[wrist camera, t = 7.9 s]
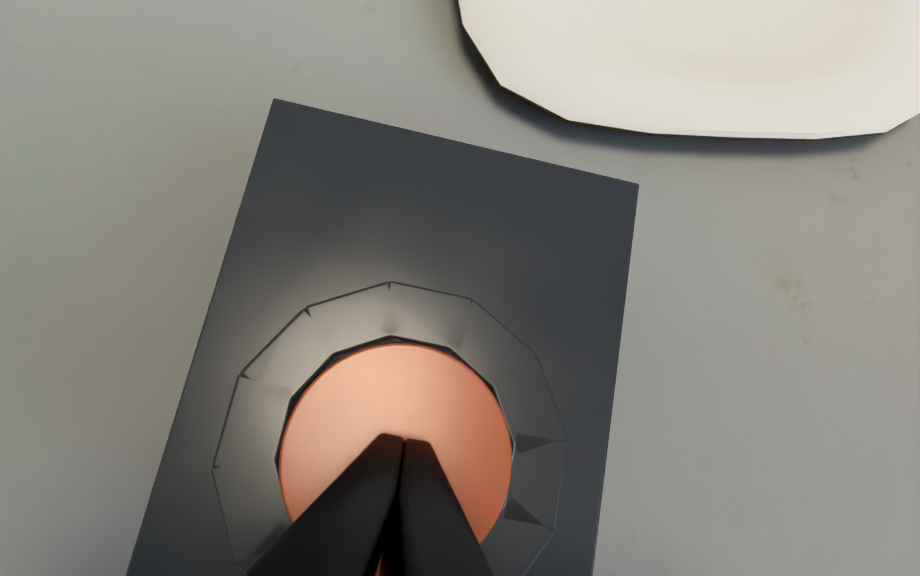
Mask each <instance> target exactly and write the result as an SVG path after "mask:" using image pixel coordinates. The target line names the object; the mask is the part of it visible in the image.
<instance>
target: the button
mask: <svg viewBox="0 0 920 576" xmlns="http://www.w3.org/2000/svg"><path fill="white" fill-rule="evenodd" d="M380 433H387V434H392V435H398V436H402V437H403V438H404V442H405V440H406V439H407V438H413V439H418V440H423V441H428V442H430V443H431V445H432V447H433V449H434V451H435V453H436V455H437V457H438V459H439V461H440V463H441V466H442V468H443V470H444V472H445V474H446V476H447V478H448V480H449V482H450V484H451V486H452V488H453V491H454V493H455V495H456V497H457V499H458V501H459V503H460V505H461V507H462V509H463V511H464V513H465V515H466V518H467V520H468V522H469V524H470V526H471V528H472V530H473V532H474V534H475V536H476V538H477V540H478V542H479V545H480V543H481V542H482V541H483V540H484V539H485V538H486V536H487V535H488V533H489V532H490V530H491V529H492V527H493V526H494V524H495V522H496V520H497V519H498V517H499V515H500V513H501V511H502V508H503V505H504V502H505V500H506V497H507V493H508V489H509V484H510V480H511V470H512V448H511V441H510V435H509V431H508V427H507V424H506V420H505V417H504V415H503V413H502V410H501V408H500V406H499V404H498V402H497V400H496V399H495V397H494V395H493V394H492V392H491V391H490V389H489V388H488V387H487V385H486V384H485V383H484V382H483V380H482V379H481V378H480V377H479V376H478V375H477V374H476V373H475V372H474V371H473V370H471V369H470V368H469V367H467V366H466V365H465V364H464V363H462V362H461V361H459V360H457V359H456V358H454V357H452V356H450V355H449V354H446V353H444V352H442V351H439V350H437V349H434V348H430V347H426V346H423V345H416V344H409V343H390V344H382V345H376V346H372V347H368V348H364V349H362V350H359V351H357V352H354V353H352V354H350V355H348V356H346V357H344V358H342V359H340V360H339V361H337V362H336V363H334V364H333V365H331V366H330V367H329V368H327V369H326V370H325V371H324V372H322V373H321V374H320V375H319V376H318V377H317V378H316V379H315V380H314V381H313V382H312V383H311V384H310V386H309V387H308V388H307V389H306V391H305V392H304V393H303V394H302V396H301V398H300V399H299V401H298V402H297V404H296V405H295V407H294V409H293V411H292V414H291V416H290V418H289V420H288V423H287V426H286V429H285V432H284V435H283V439H282V444H281V449H280V459H279V477H280V487H281V492H282V497H283V501H284V504H285V507H286V510H287V513H288V516H289V518H290V520H291V522H292V523H293V522H294V521H295V520H296V519H297V518H298V517H299V516H300V515H301V514H302V513H303V512H304V511H305V510H306V509H307V508H308V507H309V506H310V505H311V504H312V503H313V502H314V501H315V500H316V499H317V497H318V496H319V495H320V494H321V493H322V492H323V491H324V490H325V489H326V488H327V487H328V486H329V485H330V484H331V483H332V482H333V481H334V480H335V479H336V478H337V477H338V476H339V475H340V474H341V473H342V472H343V471H344V470H345V469H346V467H347V466H348V465H349V464H350V463H351V462H352V461H353V460H354V459H355V458H356V457H357V456H358V455H359V454H360V453H361V452H362V451H363V450H364V449H365V448H366V447H367V446H368V445H369V444H370V443H371V442H372V441H373V440H374V439H375V438H376V436H378V435H379V434H380ZM380 560H381V558H380ZM379 567H380V562H379V566H378V570H377V574H376V576H379Z"/></svg>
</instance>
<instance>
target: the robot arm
mask: <svg viewBox="0 0 920 576" xmlns="http://www.w3.org/2000/svg"><path fill="white" fill-rule="evenodd" d="M380 558H381V560H380ZM379 562H380V567H379V576H494V574H493V572H492V569H491V567H490V565H489V563H488V561H487V559H486V557H485V555H484V553H483V551H482V549H481V547H480V545H479V542H478V540H477V538H476V536H475V534H474V532H473V530H472V528H471V526H470V524H469V522H468V520H467V518H466V515H465V513H464V511H463V509H462V507H461V505H460V503H459V501H458V499H457V497H456V495H455V493H454V491H453V488H452V486H451V484H450V482H449V480H448V478H447V476H446V474H445V472H444V470H443V468H442V466H441V463H440V461H439V459H438V457H437V455H436V453H435V451H434V449H433V447H432V445H431V443H430V442H428V441H423V440H418V439H413V438H407V439H406V440H405V442H404V438H403V437H402V436H398V435H392V434H387V433H380V434H379V435H378V436H376V438H375V439H374V440H373V441H372V442H371V443H370V444H369V445H368V446H367V447H366V448H365V449H364V450H363V451H362V452H361V453H360V454H359V455H358V456H357V457H356V458H355V459H354V460H353V461H352V462H351V463H350V464H349V465H348V466H347V467H346V469H345V470H344V471H343V472H342V473H341V474H340V475H339V476H338V477H337V478H336V479H335V480H334V481H333V482H332V483H331V484H330V485H329V486H328V487H327V488H326V489H325V490H324V491H323V492H322V493H321V494H320V495H319V496H318V497H317V499H316V500H315V501H314V502H313V503H312V504H311V505H310V506H309V507H308V508H307V509H306V510H305V511H304V512H303V513H302V514H301V515H300V516H299V517H298V518H297V519H296V520H295V521H294V522H293V523H292V524H291V525H290V526H289V527H288V528H287V530H286V531H285V532H284V533H283V534H282V535H281V536H280V537H279V538H278V539H277V540H276V541H275V542H274V543H273V544H272V545H271V546H270V547H269V548H268V549H267V550H266V551H265V552H264V553H263V554H262V555H261V556H260V557H259V558H258V559H257V561H256V562H255V563H254V564H253V565H252V566H251V567H250V568H249V569H248V570H247V571H246V574H245V575H241V576H376V574H377V570H378V566H379Z"/></svg>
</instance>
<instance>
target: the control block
mask: <svg viewBox="0 0 920 576" xmlns="http://www.w3.org/2000/svg"><path fill="white" fill-rule="evenodd" d="M638 189H639V184H637V183H632V182H628V181H624V180H620V179H615V178H611V177H607V176H603V175H598V174H594V173H590V172H585V171H581V170H577V169H573V168H568V167H564V166H560V165H556V164H551V163H547V162H543V161H539V160H534V159H530V158H526V157H522V156H517V155H513V154H509V153H505V152H500V151H496V150H492V149H488V148H483V147H479V146H475V145H471V144H466V143H462V142H458V141H454V140H449V139H445V138H441V137H437V136H432V135H428V134H424V133H420V132H415V131H411V130H407V129H403V128H398V127H394V126H390V125H386V124H381V123H377V122H373V121H368V120H364V119H360V118H356V117H351V116H347V115H343V114H339V113H334V112H330V111H326V110H322V109H317V108H313V107H309V106H305V105H300V104H296V103H292V102H288V101H283V100H279V99H273V102H272V105H271V108H270V111H269V115H268V118H267V121H266V124H265V127H264V131H263V134H262V137H261V140H260V144H259V147H258V150H257V153H256V156H255V160H254V163H253V166H252V169H251V173H250V176H249V179H248V182H247V185H246V189H245V192H244V195H243V198H242V202H241V205H240V208H239V211H238V215H237V218H236V221H235V224H234V227H233V231H232V234H231V237H230V240H229V244H228V247H227V250H226V253H225V256H224V260H223V263H222V266H221V269H220V273H219V276H218V279H217V282H216V286H215V289H214V292H213V295H212V298H211V302H210V305H209V308H208V311H207V315H206V318H205V321H204V324H203V327H202V331H201V334H200V337H199V340H198V344H197V347H196V350H195V353H194V356H193V360H192V363H191V366H190V369H189V373H188V376H187V379H186V382H185V386H184V389H183V392H182V395H181V398H180V402H179V405H178V408H177V411H176V415H175V418H174V421H173V424H172V427H171V431H170V434H169V437H168V440H167V444H166V447H165V450H164V453H163V457H162V460H161V463H160V466H159V469H158V473H157V476H156V479H155V482H154V486H153V489H152V492H151V495H150V498H149V502H148V505H147V508H146V511H145V515H144V518H143V521H142V524H141V528H140V531H139V534H138V537H137V540H136V544H135V547H134V550H133V553H132V557H131V560H130V563H129V566H128V569H127V573H126V576H241V575H245V574H246V571H247V570H248V569H249V568H250V567H251V566H252V565H253V564H254V563H255V562H256V561H257V559H258V558H259V557H260V556H261V555H262V554H263V553H264V552H265V551H266V550H267V549H268V548H269V547H270V546H271V545H272V544H273V543H274V542H275V541H276V540H277V539H278V538H279V537H280V536H281V535H282V534H283V533H284V532H285V531H286V530H287V528H288V527H289V526H290V525H291V524H292V522H291V520H290V518H289V516H288V513H287V510H286V507H285V504H284V501H283V497H282V492H281V487H280V477H279V459H280V449H281V444H282V439H283V435H284V432H285V429H286V426H287V423H288V420H289V418H290V416H291V414H292V411H293V409H294V407H295V405H296V404H297V402H298V401H299V399H300V398H301V396H302V394H303V393H304V392H305V391H306V389H307V388H308V387H309V386H310V384H311V383H312V382H313V381H314V380H315V379H316V378H317V377H318V376H319V375H320V374H321V373H322V372H324V371H325V370H326V369H327V368H329V367H330V366H331V365H333V364H334V363H336V362H337V361H339V360H340V359H342V358H344V357H346V356H348V355H350V354H352V353H354V352H357V351H359V350H362V349H364V348H368V347H372V346H376V345H382V344H390V343H409V344H416V345H423V346H426V347H430V348H434V349H437V350H439V351H442V352H444V353H446V354H449V355H450V356H452V357H454V358H456V359H457V360H459V361H461V362H462V363H464V364H465V365H466V366H467V367H469V368H470V369H471V370H473V371H474V372H475V373H476V374H477V375H478V376H479V377H480V378H481V379H482V380H483V382H484V383H485V384H486V385H487V387H488V388H489V389H490V391H491V392H492V394H493V395H494V397H495V399H496V400H497V402H498V404H499V406H500V408H501V410H502V413H503V415H504V417H505V420H506V424H507V427H508V431H509V435H510V441H511V448H512V470H511V480H510V484H509V489H508V493H507V497H506V500H505V502H504V505H503V508H502V511H501V513H500V515H499V517H498V519H497V520H496V522H495V524H494V526H493V527H492V529H491V530H490V532H489V533H488V535H487V536H486V538H485V539H484V540H483V541H482V542H481V543H480V547H481V549H482V551H483V553H484V555H485V557H486V559H487V561H488V563H489V565H490V567H491V569H492V572H493V574H494V576H592V574H593V566H594V558H595V549H596V541H597V532H598V524H599V516H600V507H601V499H602V491H603V482H604V474H605V465H606V457H607V449H608V440H609V432H610V424H611V415H612V407H613V398H614V390H615V382H616V373H617V365H618V357H619V348H620V340H621V331H622V323H623V315H624V306H625V298H626V290H627V281H628V273H629V264H630V256H631V248H632V239H633V231H634V222H635V214H636V206H637V197H638Z"/></svg>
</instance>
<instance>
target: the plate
mask: <svg viewBox="0 0 920 576" xmlns="http://www.w3.org/2000/svg"><path fill="white" fill-rule="evenodd" d="M458 5H459V11H460V16H461V22H462V27H463V30H464V31H465V33H466V34H467V36H468V38H469V39H470V41H471V42H472V44H473V46H474V47H475V49H476V50H477V52H478V54H479V55H480V57H481V58H482V60H483V62H484V63H485V65H486V66H487V68H488V70H489V71H490V73H491V74H492V76H493V78H494V79H495V81H496V82H497V84H498V85H499V87H500V88H502V89H504V90H505V91H507V92H509V93H511V94H513V95H515V96H517V97H519V98H521V99H523V100H525V101H526V102H528V103H530V104H532V105H534V106H536V107H538V108H540V109H542V110H544V111H546V112H548V113H549V114H551V115H553V116H555V117H557V118H559V119H561V120H563V121H565V122H568V123H574V124H581V125H587V126H593V127H600V128H606V129H612V130H619V131H625V132H631V133H638V134H644V135H655V136H676V137H696V138H717V139H744V140H790V141H816V140H827V139H837V138H848V137H858V136H869V135H879V134H883V133H885V132H887V131H889V130H891V129H893V128H894V127H896V126H898V125H899V124H901V123H903V122H905V121H906V120H908V119H910V118H912V117H913V116H915V115H917V114H918V113H920V0H458Z"/></svg>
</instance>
